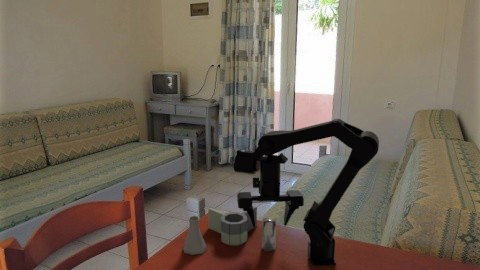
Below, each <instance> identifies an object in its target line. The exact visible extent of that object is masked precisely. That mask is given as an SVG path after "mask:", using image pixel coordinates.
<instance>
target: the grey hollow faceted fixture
mask: <svg viewBox="0 0 480 270" xmlns="http://www.w3.org/2000/svg"><path fill="white" fill-rule="evenodd" d="M253 211H254V219H255V227H253V224H252V222H251V219H250V216H249V215H248V213H247V211H243V212H239V211H233V212H232V211H231V212H225V215H222V216H221V231H222V232H224V233H226V234H228V235H229V234H230V235H240V234H242V233H244V232H246V231H247V233H248V232H249V231H252V230H253V229H254V228H257V226H258V224H257V222H258V217H257V216H258V212H257V211H258V207H257V206H256V205H253Z"/></svg>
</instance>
